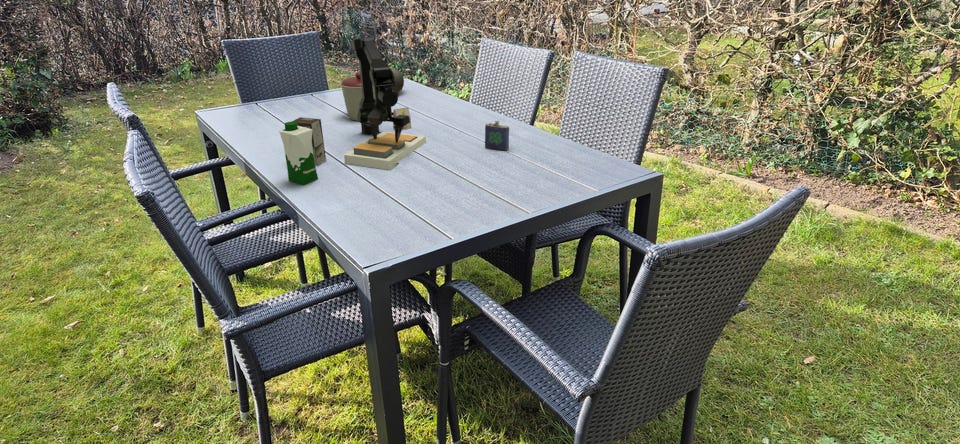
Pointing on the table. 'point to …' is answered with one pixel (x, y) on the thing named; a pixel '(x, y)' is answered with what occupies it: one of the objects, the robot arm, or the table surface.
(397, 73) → the gourd
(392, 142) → the orange drawer
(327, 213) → the table surface
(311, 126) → the coffee box
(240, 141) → the table surface
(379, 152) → the switch
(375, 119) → the robot arm
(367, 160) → the cream board with panels
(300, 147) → the milk carton
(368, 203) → the table surface
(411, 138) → the orange cabinet drawer
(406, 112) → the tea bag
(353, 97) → the canister
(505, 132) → the flask
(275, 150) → the table surface
